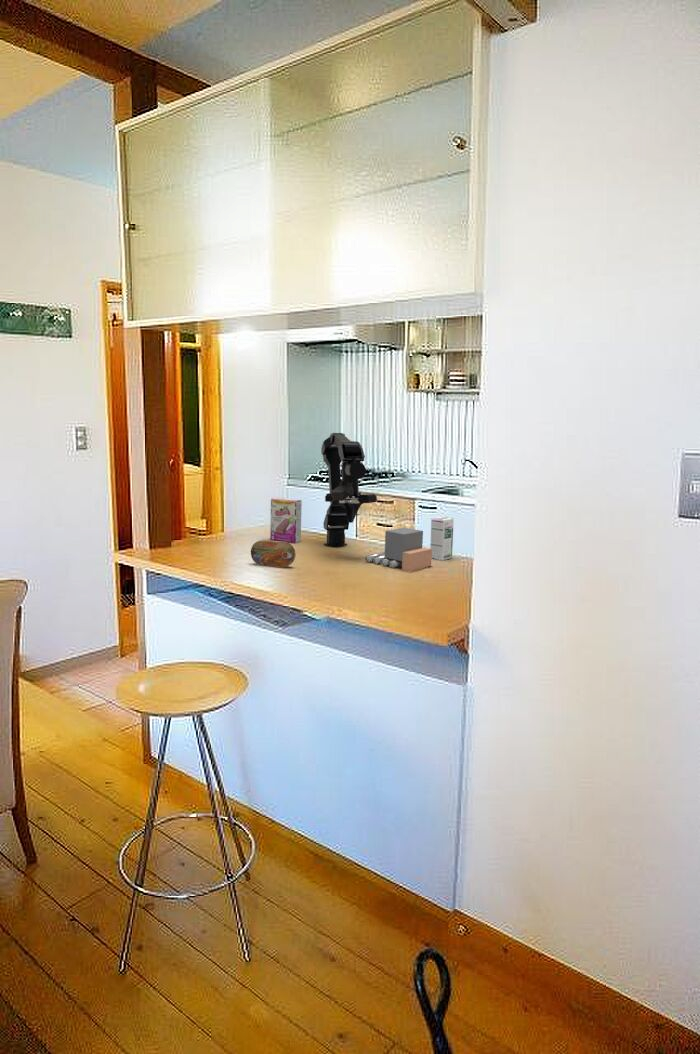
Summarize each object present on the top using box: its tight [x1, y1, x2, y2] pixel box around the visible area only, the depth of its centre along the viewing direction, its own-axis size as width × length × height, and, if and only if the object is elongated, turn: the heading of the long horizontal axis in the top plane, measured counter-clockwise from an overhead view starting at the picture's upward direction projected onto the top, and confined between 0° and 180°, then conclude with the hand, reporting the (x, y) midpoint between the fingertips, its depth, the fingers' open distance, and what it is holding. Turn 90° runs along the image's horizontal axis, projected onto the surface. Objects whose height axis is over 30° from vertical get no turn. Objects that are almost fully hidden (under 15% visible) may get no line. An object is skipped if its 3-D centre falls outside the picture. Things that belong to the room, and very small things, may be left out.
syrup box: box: [429, 516, 454, 561], centre depth 248 cm, size 6×6×14 cm
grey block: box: [384, 527, 424, 561], centre depth 235 cm, size 8×10×9 cm
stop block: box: [401, 547, 433, 573], centre depth 232 cm, size 3×12×6 cm, turn 138°
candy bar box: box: [269, 497, 303, 544], centre depth 270 cm, size 11×5×16 cm, turn 68°
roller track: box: [364, 551, 402, 569], centre depth 240 cm, size 13×12×2 cm
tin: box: [250, 539, 296, 568], centre depth 230 cm, size 15×3×8 cm, turn 73°
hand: (351, 522), depth 246 cm, fingers closed
